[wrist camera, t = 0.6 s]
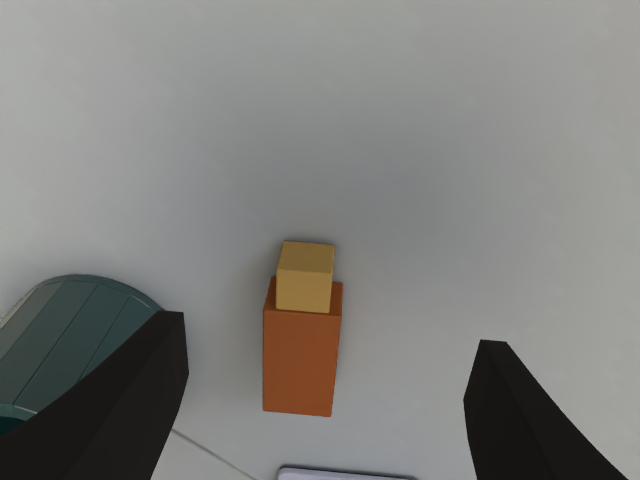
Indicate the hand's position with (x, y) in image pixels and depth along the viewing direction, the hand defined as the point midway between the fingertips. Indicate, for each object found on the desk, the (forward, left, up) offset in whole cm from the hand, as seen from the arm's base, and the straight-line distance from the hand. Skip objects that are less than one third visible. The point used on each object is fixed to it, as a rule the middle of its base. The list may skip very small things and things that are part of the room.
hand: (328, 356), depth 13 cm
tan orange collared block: (-7, +1, -10) cm, 12 cm away
